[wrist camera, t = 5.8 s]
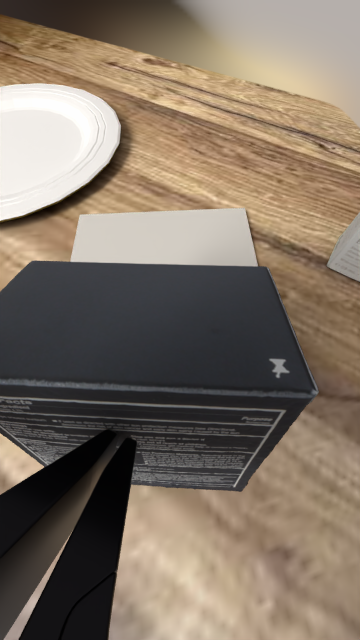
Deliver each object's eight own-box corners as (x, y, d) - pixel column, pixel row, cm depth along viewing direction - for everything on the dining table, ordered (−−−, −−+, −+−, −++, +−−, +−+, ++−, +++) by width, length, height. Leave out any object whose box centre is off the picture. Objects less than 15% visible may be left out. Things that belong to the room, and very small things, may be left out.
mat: (276, 360, 18) (278, 358, 18) (52, 369, 18) (48, 367, 18) (243, 211, 25) (244, 207, 25) (81, 218, 25) (79, 214, 25)
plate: (25, 82, 40) (18, 66, 38) (168, 134, 32) (167, 118, 31) (-162, 176, 29) (-183, 160, 28) (-16, 286, 22) (-33, 273, 20)
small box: (233, 385, 18) (273, 258, 10) (246, 494, 13) (338, 406, 6) (91, 379, 18) (29, 250, 10) (54, 482, 13) (-104, 384, 6)
